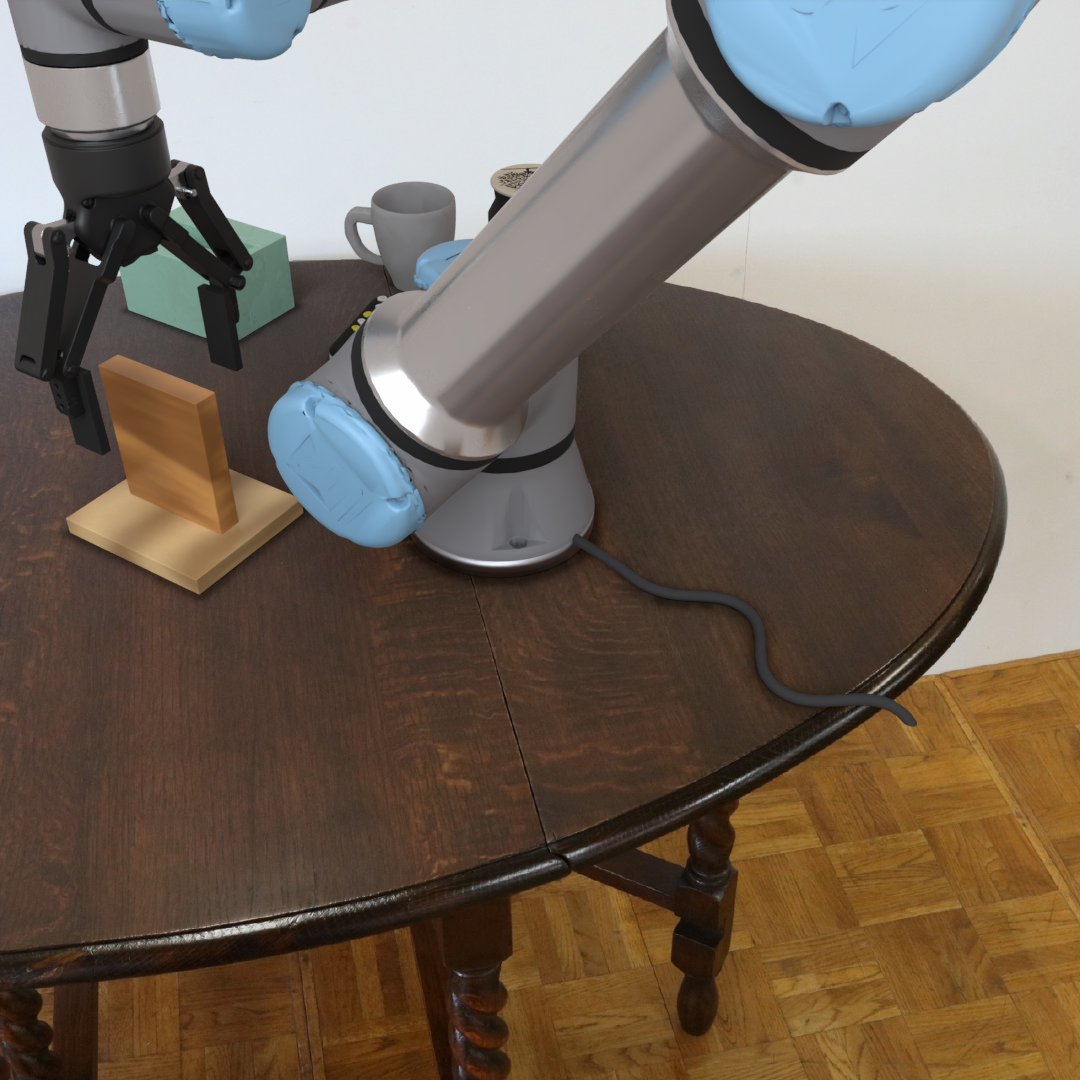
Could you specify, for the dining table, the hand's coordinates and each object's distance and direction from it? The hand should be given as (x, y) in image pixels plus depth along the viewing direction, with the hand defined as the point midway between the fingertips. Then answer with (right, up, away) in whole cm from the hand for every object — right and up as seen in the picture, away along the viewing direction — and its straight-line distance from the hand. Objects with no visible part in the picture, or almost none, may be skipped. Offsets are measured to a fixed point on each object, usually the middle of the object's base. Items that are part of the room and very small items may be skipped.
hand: (163, 404), depth 89 cm
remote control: (+12, +10, +31) cm, 34 cm away
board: (0, -9, +7) cm, 11 cm away
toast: (0, -8, +6) cm, 10 cm away
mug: (+13, +18, +41) cm, 47 cm away
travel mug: (+27, +8, +29) cm, 41 cm away
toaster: (-6, +14, +35) cm, 39 cm away
